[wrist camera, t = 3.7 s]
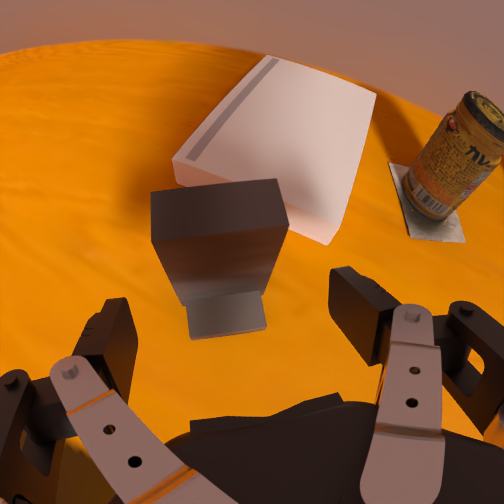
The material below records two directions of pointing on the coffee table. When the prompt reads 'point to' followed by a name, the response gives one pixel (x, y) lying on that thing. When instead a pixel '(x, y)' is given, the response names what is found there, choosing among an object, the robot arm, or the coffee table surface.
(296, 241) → the coffee table surface
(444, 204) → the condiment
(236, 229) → the dark block with lip
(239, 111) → the board
